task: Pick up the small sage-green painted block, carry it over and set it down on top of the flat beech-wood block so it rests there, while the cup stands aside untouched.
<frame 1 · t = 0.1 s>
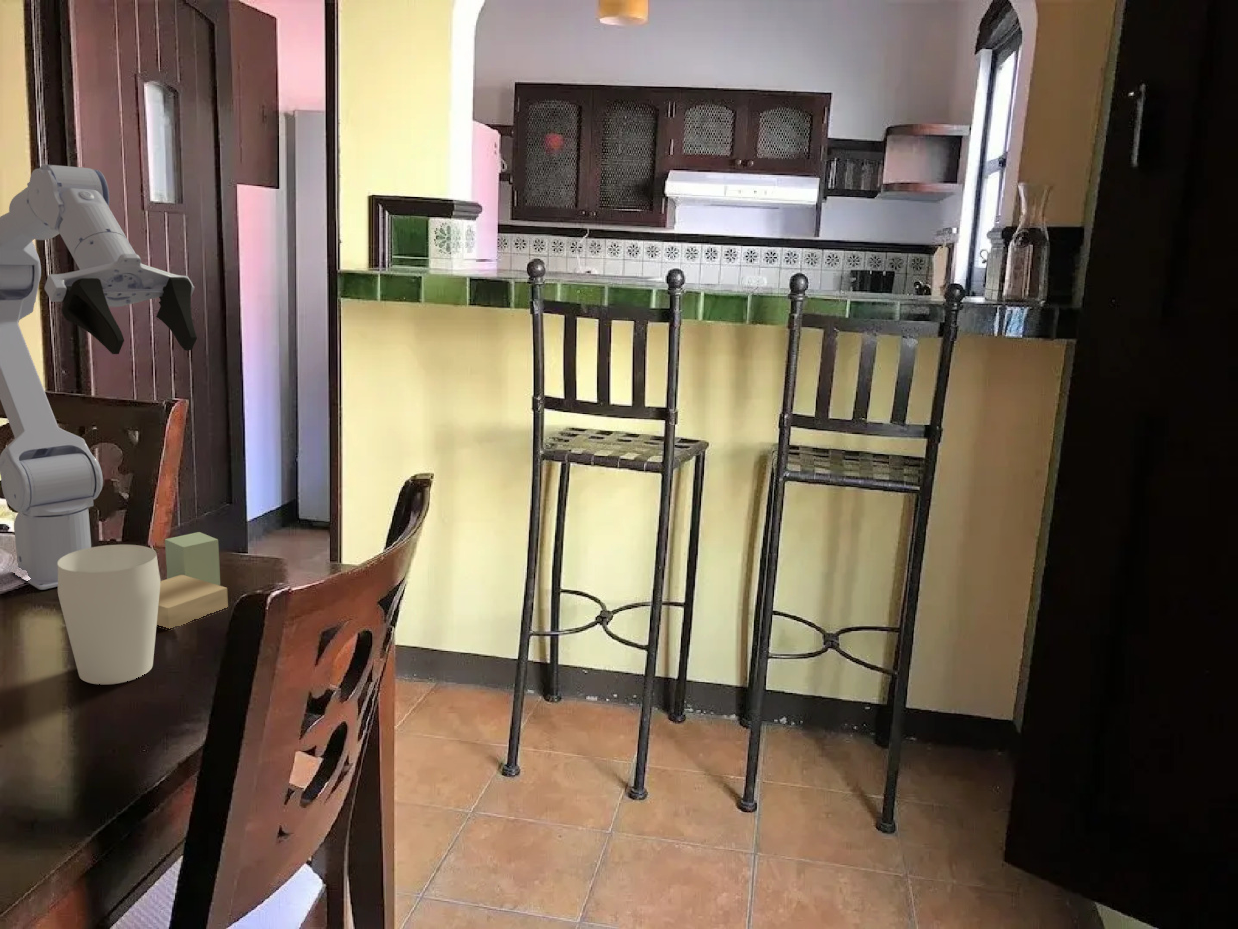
hand: (155, 345, 101), 32 cm above the table, tool tilted 50°, fingers open, 7 cm apart
cup: (116, 673, 99), on the table
green block: (194, 585, 124), on the table
beech base: (176, 614, 115), on the table
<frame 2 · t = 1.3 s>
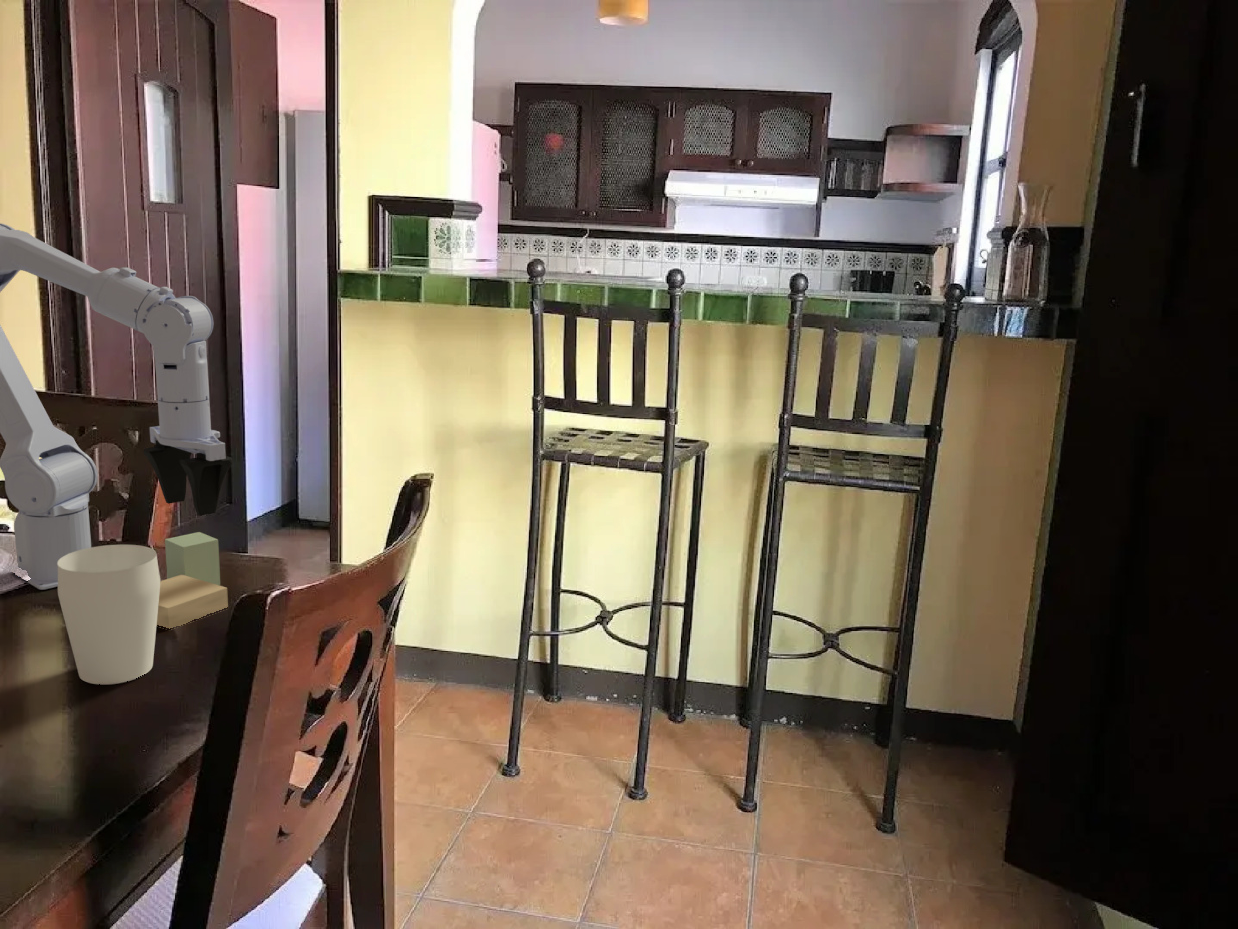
hand: (190, 507, 121), 10 cm above the table, tool pointing down, fingers open, 7 cm apart
nothing on the table moved.
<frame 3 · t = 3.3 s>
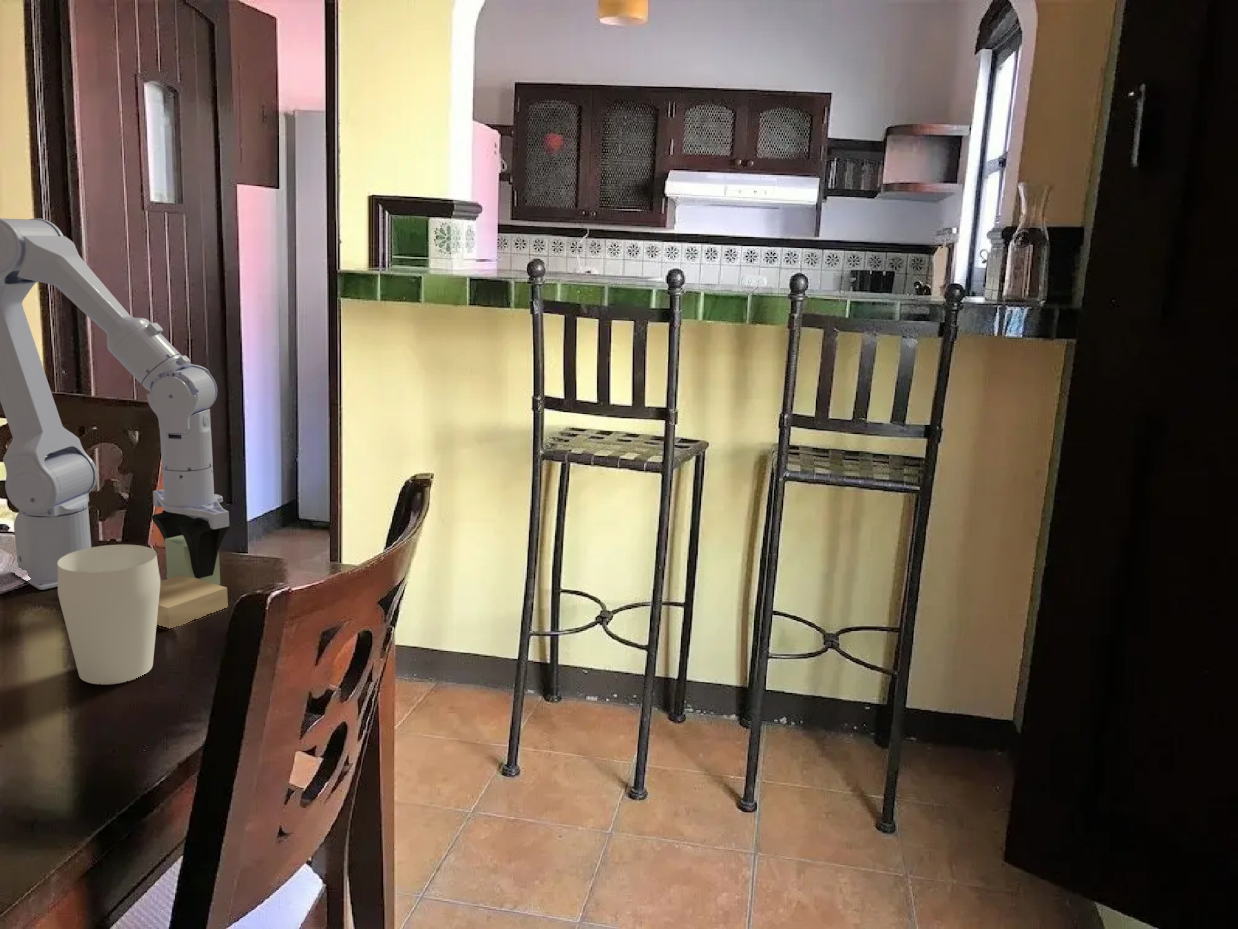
hand: (193, 571, 123), 2 cm above the table, tool pointing down, fingers closed on green block, 4 cm apart
green block: (194, 584, 124), on the table, touching gripper
everything else where it was.
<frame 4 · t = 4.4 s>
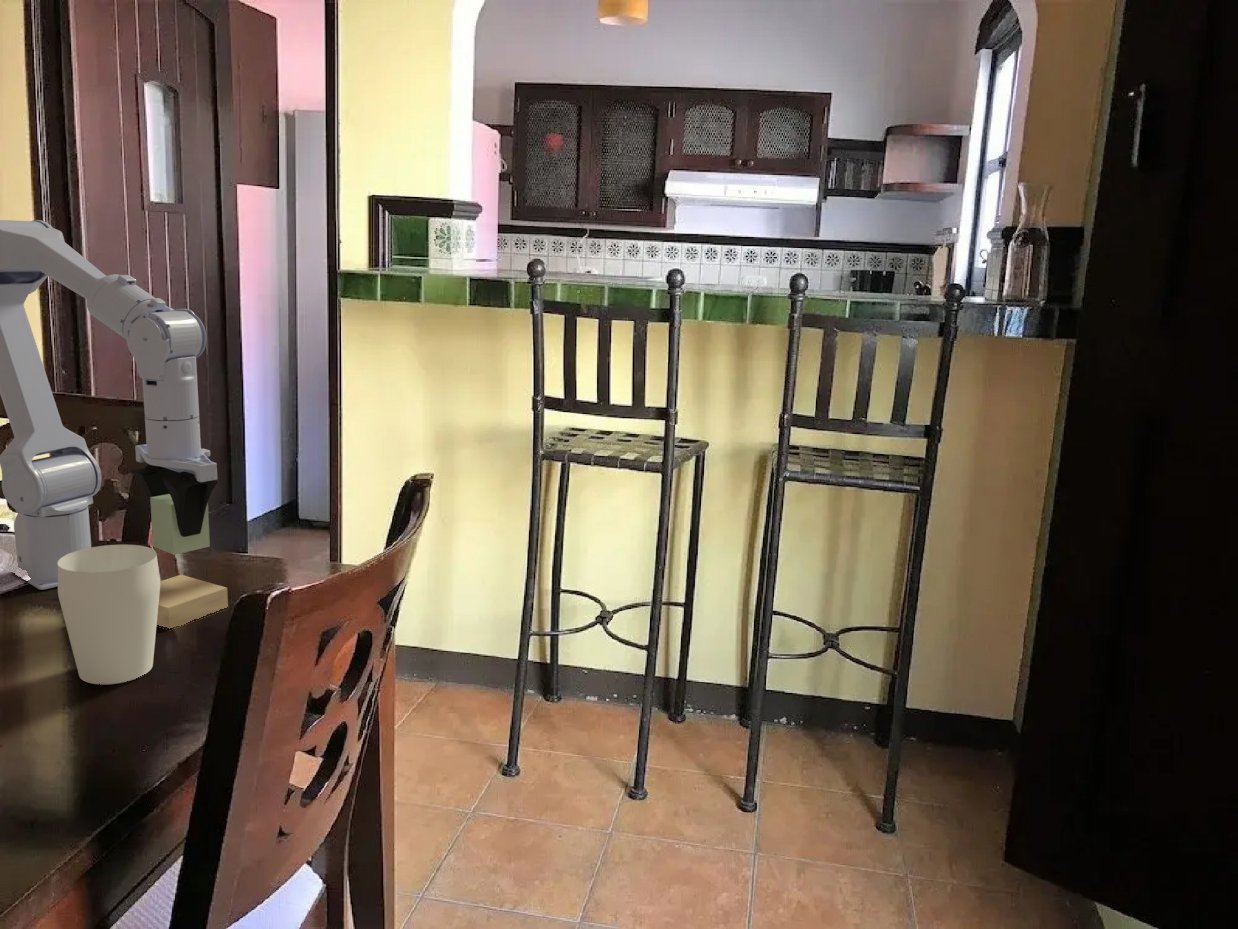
hand: (179, 530, 116), 9 cm above the table, tool pointing down, fingers closed on green block, 4 cm apart
green block: (181, 546, 117), point 7 cm above the table, touching gripper
everything else where it was.
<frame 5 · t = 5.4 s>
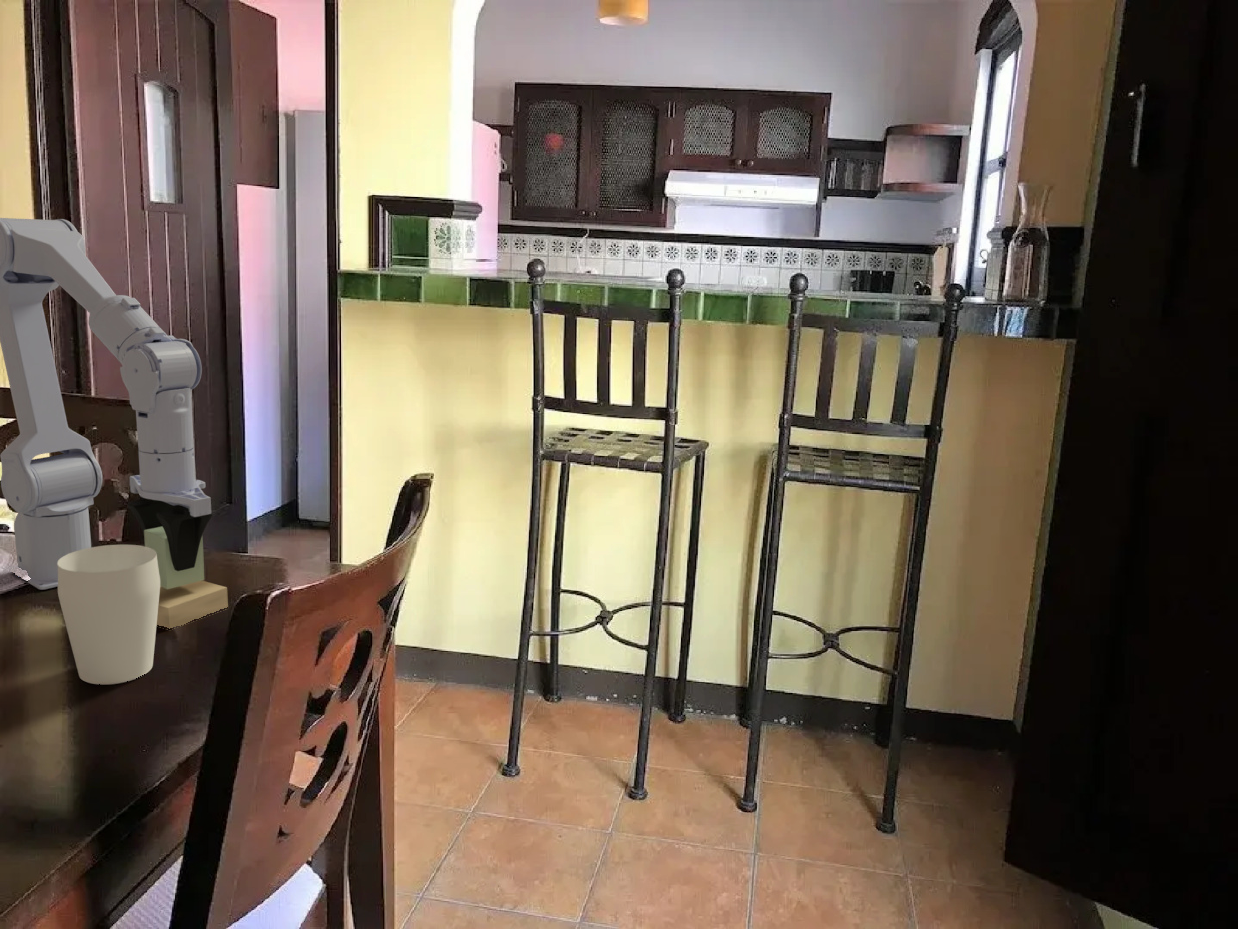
hand: (173, 563, 114), 6 cm above the table, tool pointing down, fingers closed on green block, 4 cm apart
green block: (175, 579, 114), point 4 cm above the table, touching gripper
everything else where it was.
when the fingers open (6 cm above the table, at t = 6.0 s): green block drops 1 cm, point 3 cm above the table.
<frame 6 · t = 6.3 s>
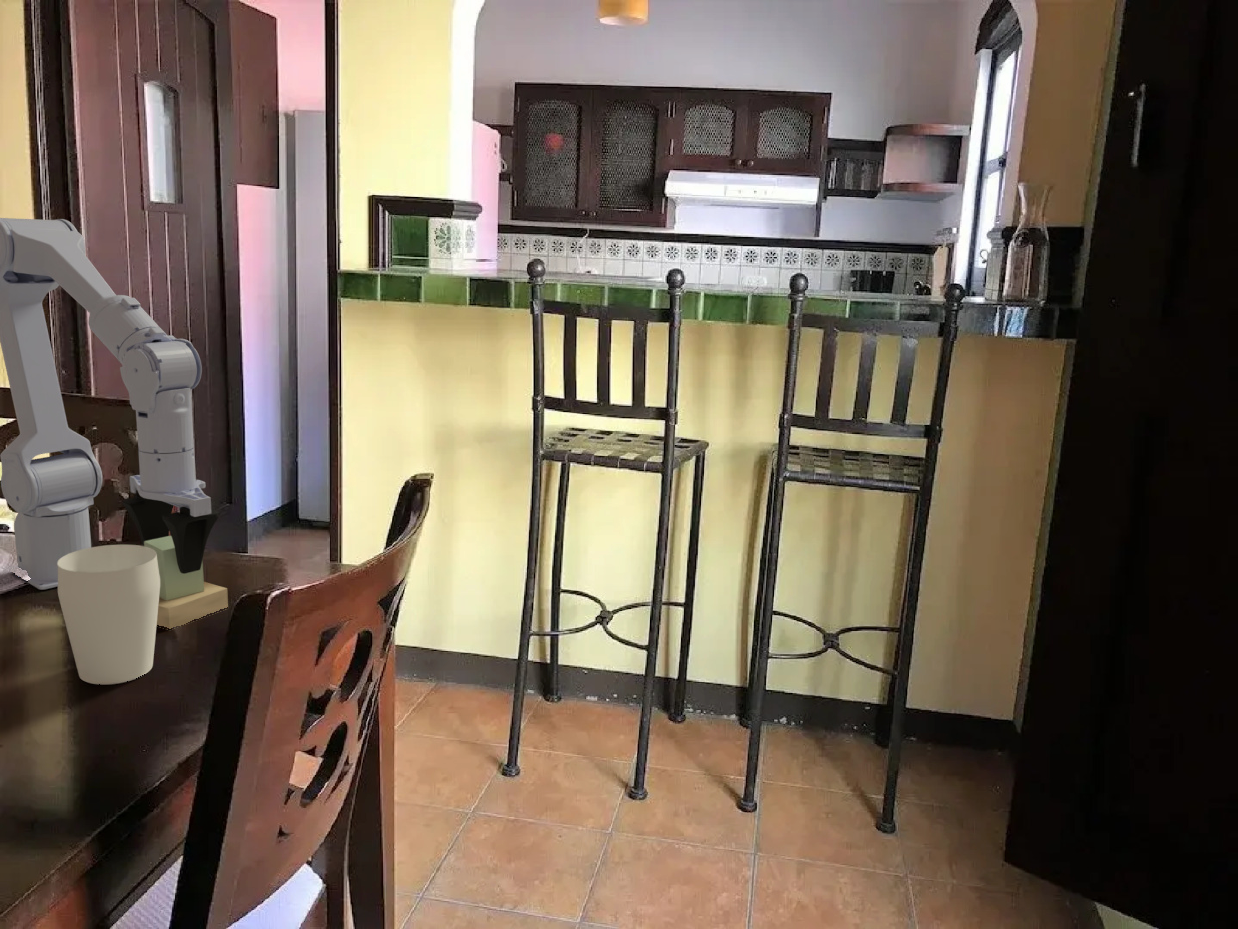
hand: (173, 563, 114), 6 cm above the table, tool pointing down, fingers open, 7 cm apart
green block: (176, 590, 115), point 3 cm above the table
everything else where it was.
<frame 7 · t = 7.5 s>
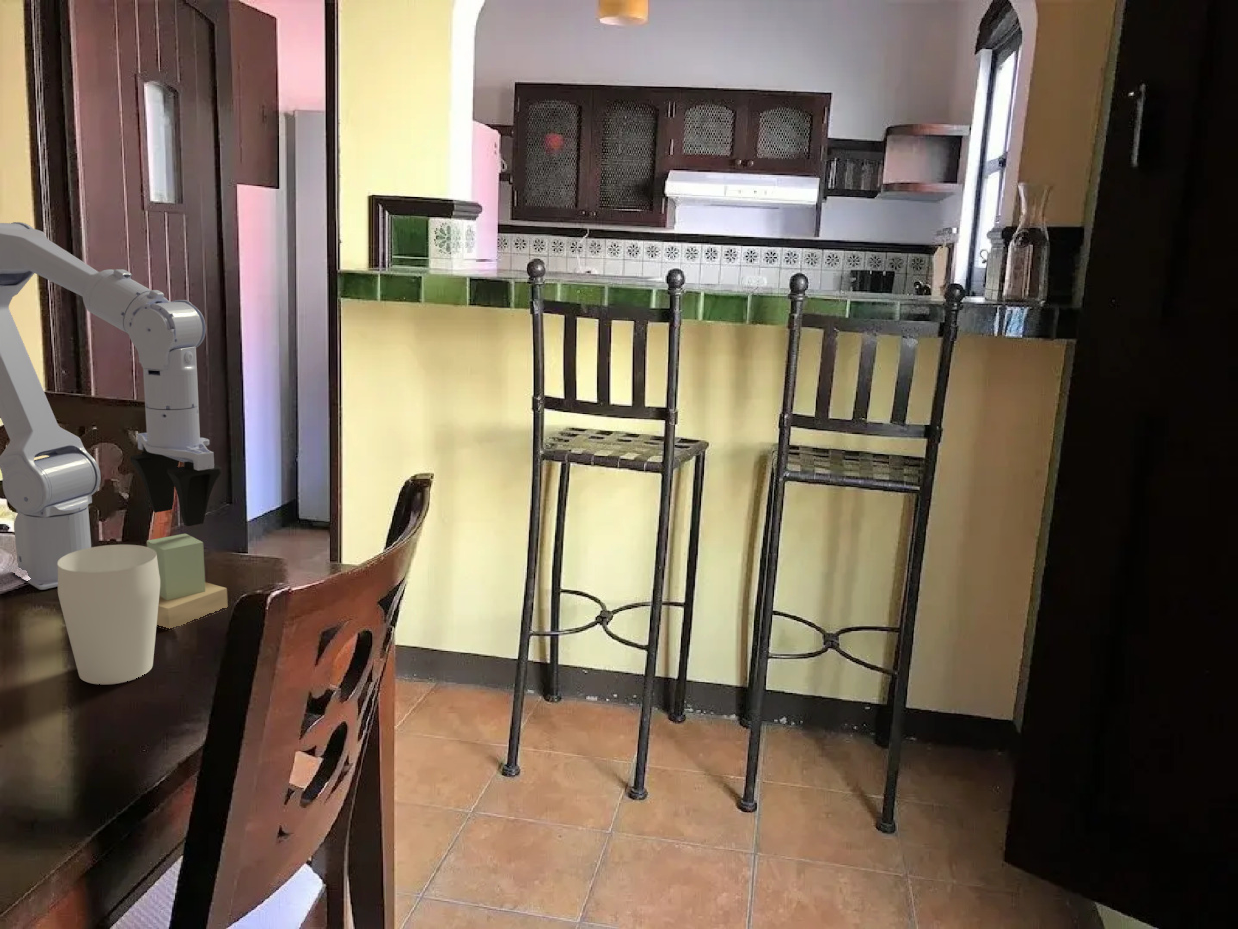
hand: (178, 517, 118), 10 cm above the table, tool pointing down, fingers open, 7 cm apart
green block: (177, 590, 115), point 3 cm above the table, touching beech base
beech base: (176, 615, 115), on the table, touching green block
everything else where it was.
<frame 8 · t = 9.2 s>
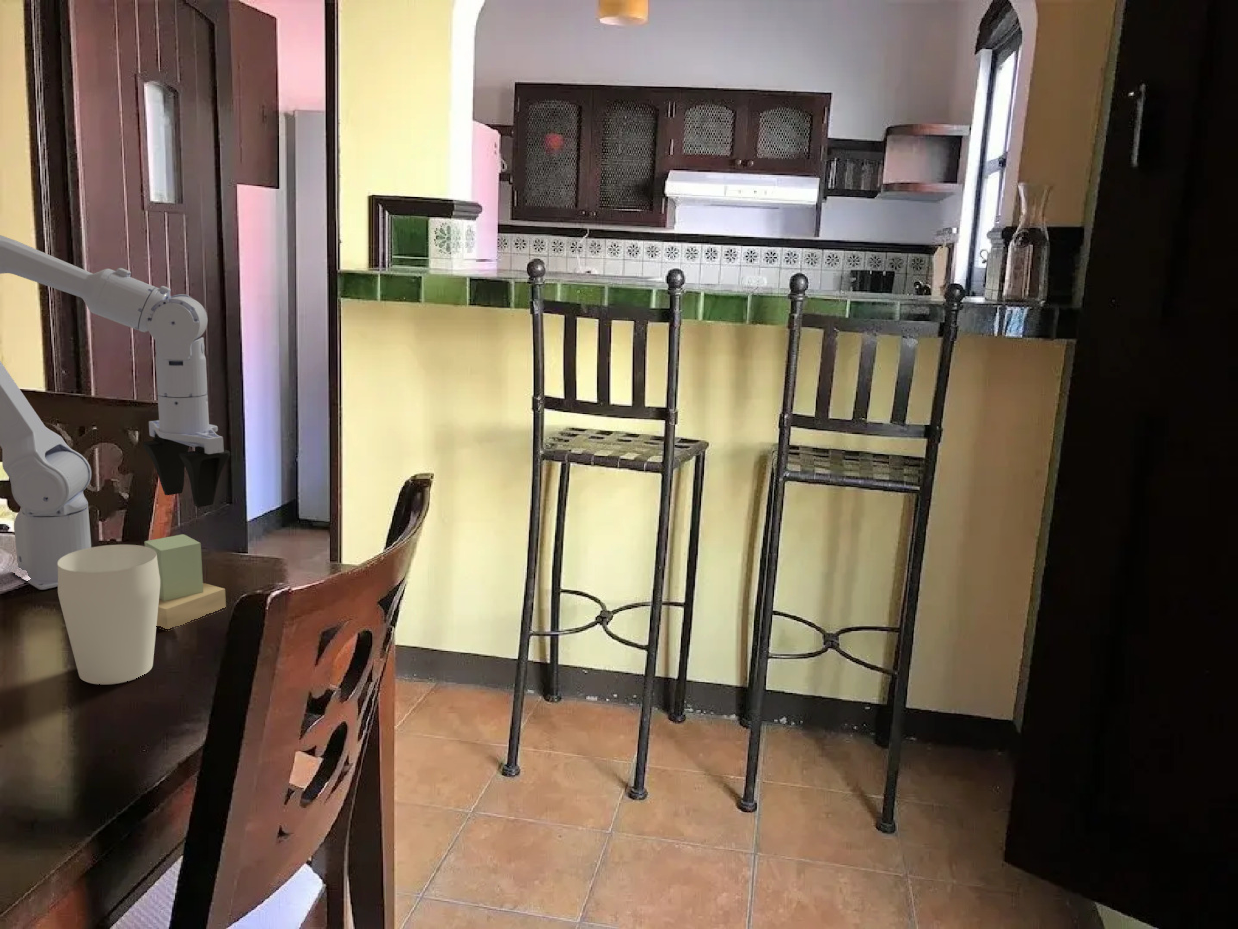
hand: (188, 499, 126), 10 cm above the table, tool pointing down, fingers open, 7 cm apart
nothing on the table moved.
at the end: green block 0.3 cm off-centre on the beech base, point 3.0 cm above the beech base's base; green block tilted 0°; the gripper is holding nothing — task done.
